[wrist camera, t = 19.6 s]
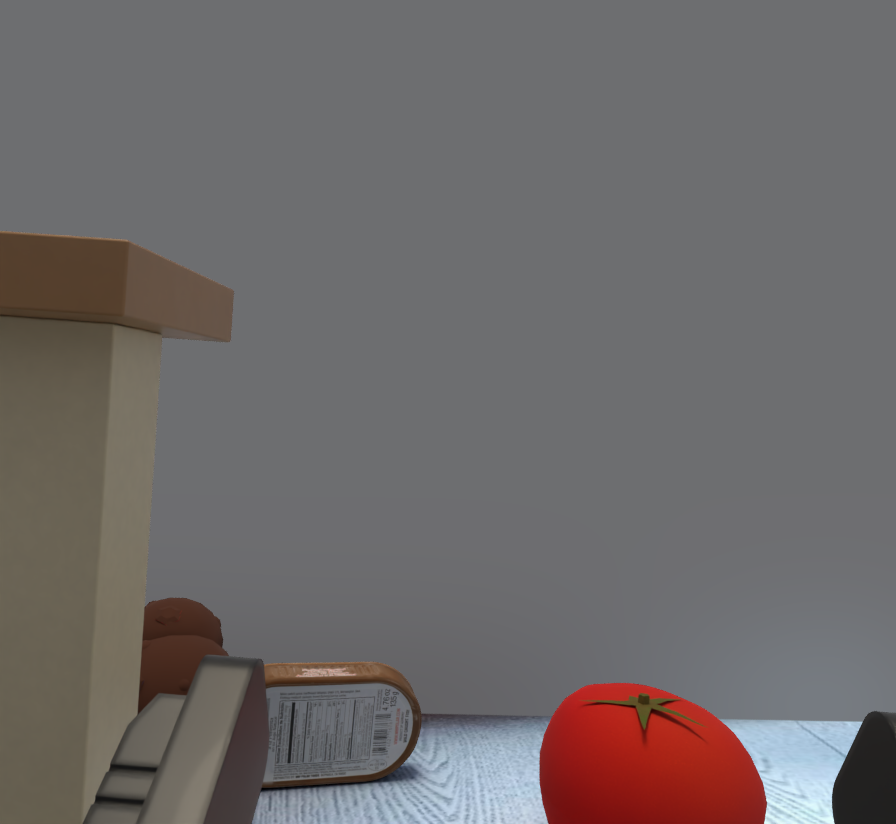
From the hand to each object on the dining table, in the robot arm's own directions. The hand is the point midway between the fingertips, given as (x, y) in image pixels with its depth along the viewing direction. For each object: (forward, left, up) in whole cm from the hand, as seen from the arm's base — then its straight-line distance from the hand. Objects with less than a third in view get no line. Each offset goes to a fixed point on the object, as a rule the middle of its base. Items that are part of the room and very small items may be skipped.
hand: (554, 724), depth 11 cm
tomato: (+42, +3, -24) cm, 48 cm away
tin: (+43, +26, -24) cm, 56 cm away
